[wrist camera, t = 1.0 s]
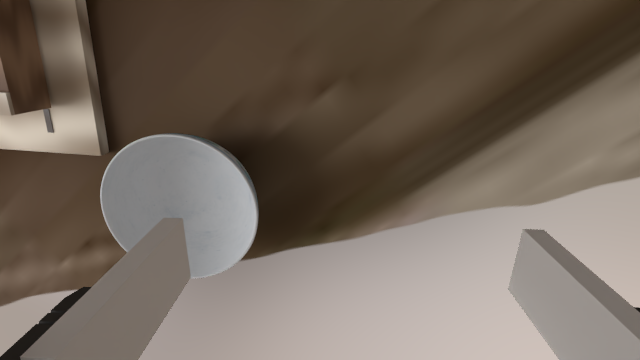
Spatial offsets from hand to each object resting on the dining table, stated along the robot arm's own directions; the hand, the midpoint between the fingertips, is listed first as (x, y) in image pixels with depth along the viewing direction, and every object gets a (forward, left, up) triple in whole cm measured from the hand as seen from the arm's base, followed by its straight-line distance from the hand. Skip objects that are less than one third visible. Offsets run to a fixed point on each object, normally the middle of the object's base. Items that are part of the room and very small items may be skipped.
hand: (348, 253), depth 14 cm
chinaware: (+8, -15, -25) cm, 30 cm away
